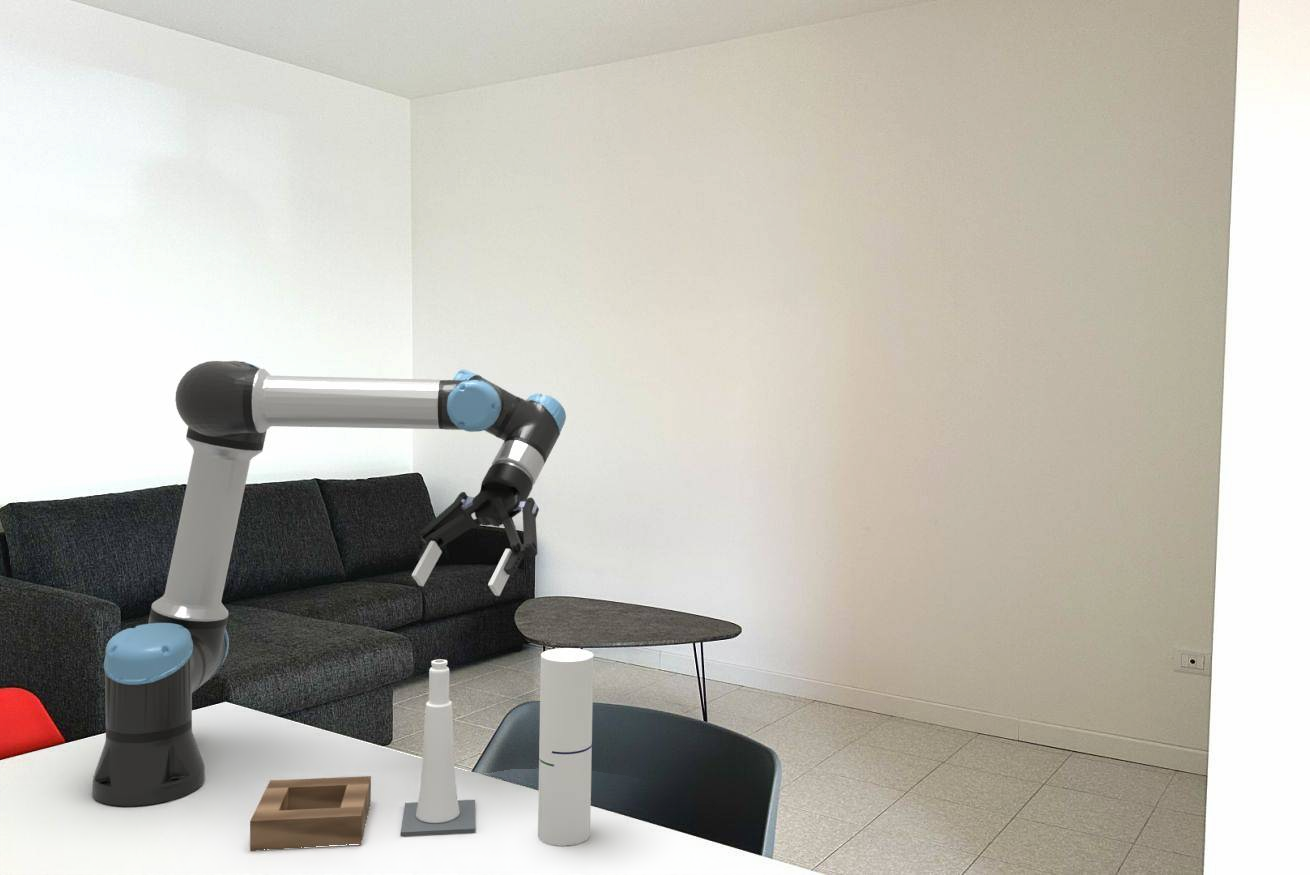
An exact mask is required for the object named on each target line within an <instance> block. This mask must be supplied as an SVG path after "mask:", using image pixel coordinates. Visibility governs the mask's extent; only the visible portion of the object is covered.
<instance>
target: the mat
mask: <svg viewBox="0 0 1310 875" xmlns="http://www.w3.org/2000/svg"><path fill="white" fill-rule="evenodd" d="M458 805H459V811H460V813H459V815H458V817H456V818H455V819H453V820H451V821H448V822H444V823H426V822H423V821H420V820H419V819H418V818H417V817H416V811H417V806H418V801H416V802H414V801H413V802H405V803H404V807H403V814H402V821H401V827H400V836H404V837H421V836H436V835H439V836H440V835H442V836H443V835H456V834H458V835H460V834H476V799H458ZM400 836H399V837H400Z"/></svg>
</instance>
